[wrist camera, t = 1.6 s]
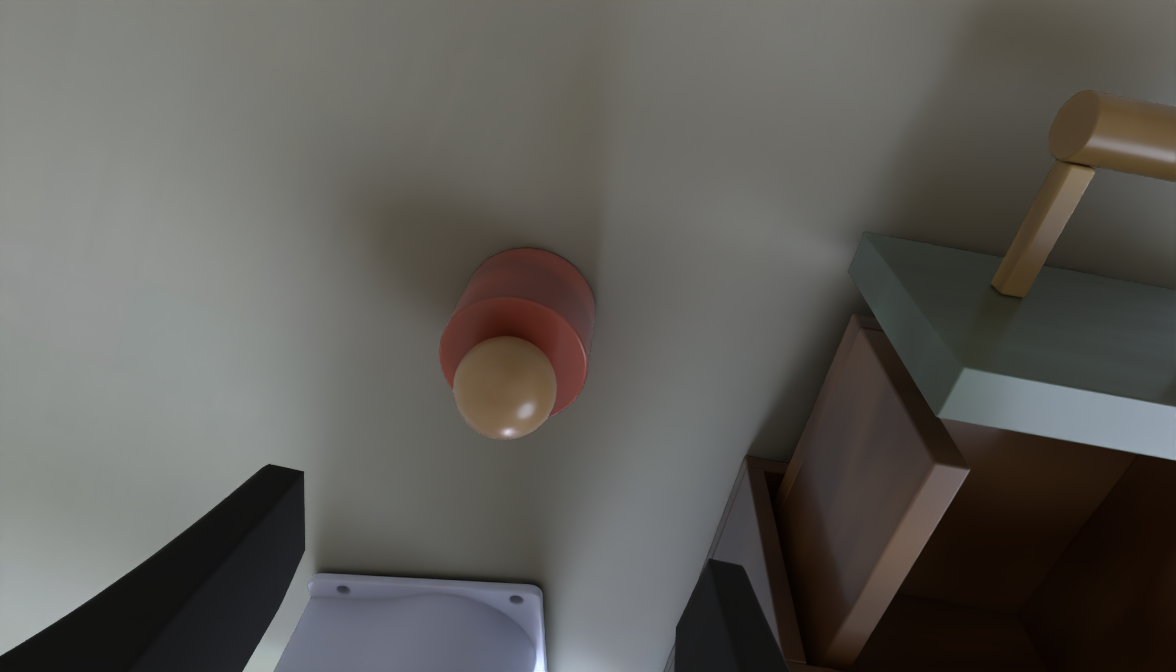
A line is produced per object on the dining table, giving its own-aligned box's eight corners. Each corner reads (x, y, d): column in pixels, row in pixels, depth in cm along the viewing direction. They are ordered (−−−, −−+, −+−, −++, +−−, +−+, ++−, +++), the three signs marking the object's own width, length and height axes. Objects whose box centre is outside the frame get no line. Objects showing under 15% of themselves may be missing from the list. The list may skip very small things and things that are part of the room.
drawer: (935, 51, 16) (1099, 116, 10) (1391, 139, 16) (1801, 251, 10) (731, 558, 25) (757, 745, 19) (1026, 610, 25) (1140, 810, 19)
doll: (472, 360, 22) (423, 479, 17) (459, 245, 20) (400, 344, 15) (595, 364, 22) (581, 486, 17) (595, 248, 20) (579, 349, 15)
